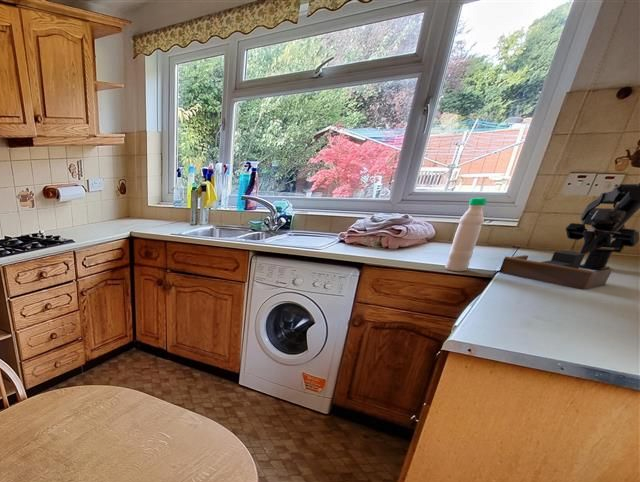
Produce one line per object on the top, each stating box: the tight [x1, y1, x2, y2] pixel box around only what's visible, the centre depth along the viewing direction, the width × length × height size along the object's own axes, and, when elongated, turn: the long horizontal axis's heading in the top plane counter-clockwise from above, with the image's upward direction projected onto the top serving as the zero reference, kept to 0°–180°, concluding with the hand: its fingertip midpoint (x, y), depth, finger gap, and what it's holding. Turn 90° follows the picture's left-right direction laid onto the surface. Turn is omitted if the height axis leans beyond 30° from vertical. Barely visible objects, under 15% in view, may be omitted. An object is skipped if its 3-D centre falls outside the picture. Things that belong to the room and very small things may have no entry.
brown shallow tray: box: [498, 254, 613, 290], centre depth 148 cm, size 12×25×6 cm, turn 21°
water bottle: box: [444, 197, 488, 272], centre depth 157 cm, size 7×7×25 cm
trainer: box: [541, 250, 586, 269], centre depth 148 cm, size 13×6×8 cm, turn 111°
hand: (581, 253), depth 151 cm, fingers closed
